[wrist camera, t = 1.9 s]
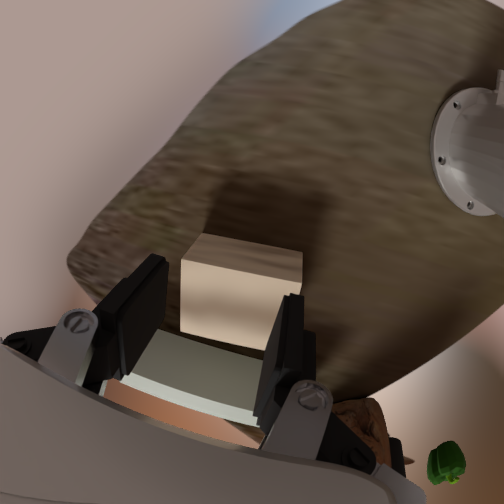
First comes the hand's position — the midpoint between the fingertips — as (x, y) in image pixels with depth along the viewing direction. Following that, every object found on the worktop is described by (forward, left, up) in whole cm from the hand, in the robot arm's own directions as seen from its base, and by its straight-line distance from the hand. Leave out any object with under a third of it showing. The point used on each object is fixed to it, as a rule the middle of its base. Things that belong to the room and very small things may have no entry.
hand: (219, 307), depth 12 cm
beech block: (+9, 0, -18) cm, 20 cm away
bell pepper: (+37, +47, -18) cm, 62 cm away
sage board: (+21, 0, -17) cm, 28 cm away
